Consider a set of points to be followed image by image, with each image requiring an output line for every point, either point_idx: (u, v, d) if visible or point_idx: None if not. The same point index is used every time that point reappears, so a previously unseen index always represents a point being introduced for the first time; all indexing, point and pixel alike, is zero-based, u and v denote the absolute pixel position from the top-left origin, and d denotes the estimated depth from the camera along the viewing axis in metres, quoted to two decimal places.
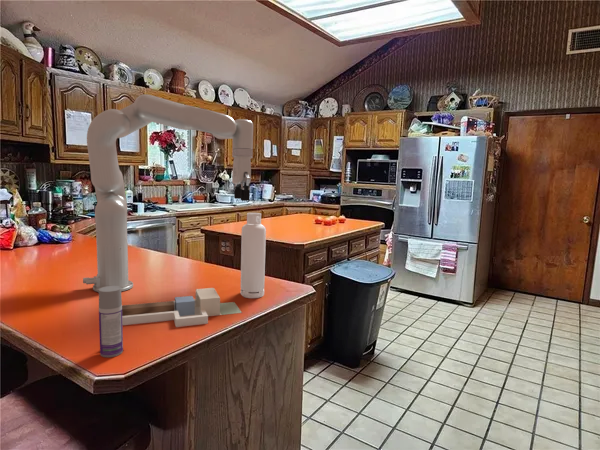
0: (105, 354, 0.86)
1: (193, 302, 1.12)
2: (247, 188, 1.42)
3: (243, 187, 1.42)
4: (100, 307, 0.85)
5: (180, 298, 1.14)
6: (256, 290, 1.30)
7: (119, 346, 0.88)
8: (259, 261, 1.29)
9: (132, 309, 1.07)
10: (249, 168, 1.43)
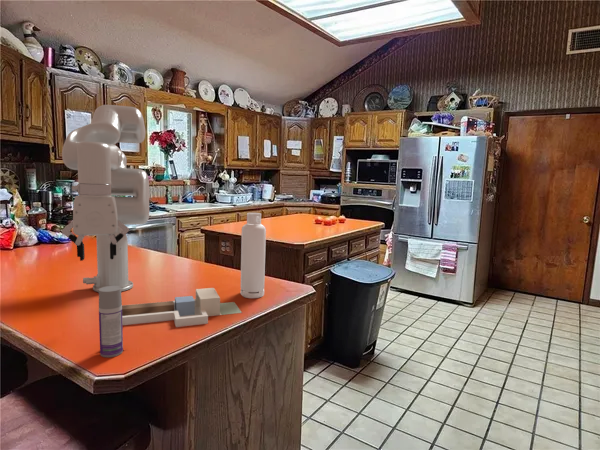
0: (105, 354, 0.86)
1: (193, 302, 1.12)
2: None
3: (116, 241, 1.03)
4: (100, 307, 0.85)
5: (180, 298, 1.14)
6: (256, 290, 1.30)
7: (119, 346, 0.88)
8: (259, 261, 1.29)
9: (132, 309, 1.07)
10: None
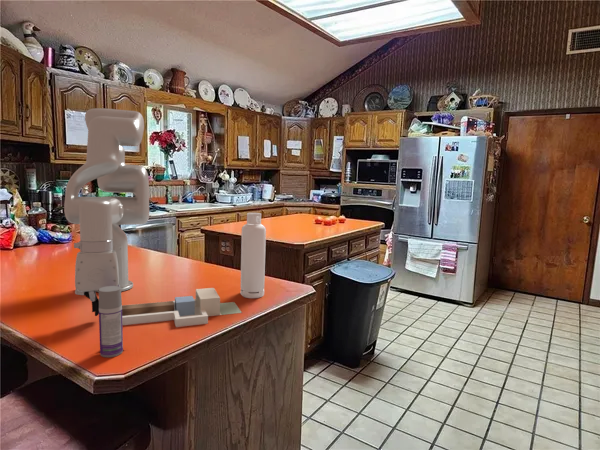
0: (105, 354, 0.86)
1: (193, 302, 1.12)
2: None
3: None
4: (100, 307, 0.85)
5: (180, 298, 1.14)
6: (256, 290, 1.30)
7: (119, 346, 0.88)
8: (259, 261, 1.29)
9: (132, 309, 1.07)
10: None
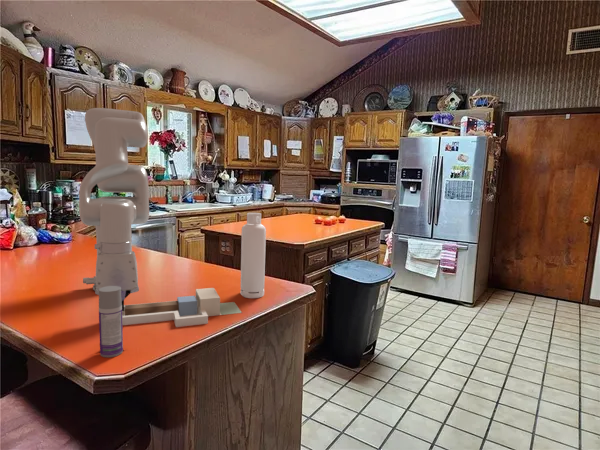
0: (105, 354, 0.86)
1: (195, 302, 1.12)
2: None
3: (124, 298, 1.06)
4: (100, 307, 0.85)
5: (183, 298, 1.14)
6: (256, 290, 1.30)
7: (119, 346, 0.88)
8: (259, 261, 1.29)
9: (137, 309, 1.07)
10: None
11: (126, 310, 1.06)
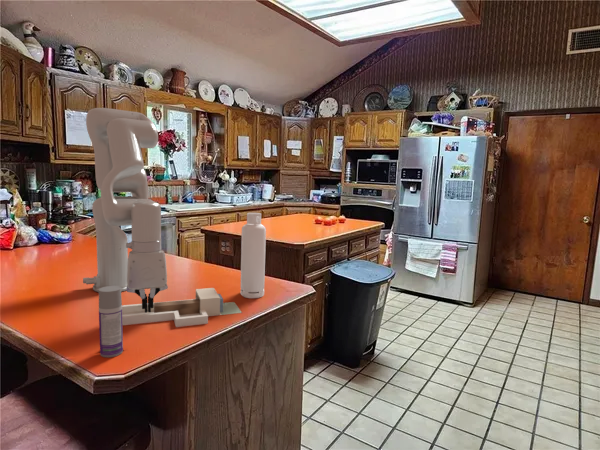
0: (105, 354, 0.86)
1: (222, 300, 1.15)
2: None
3: None
4: (100, 307, 0.85)
5: None
6: (256, 290, 1.30)
7: (119, 346, 0.88)
8: (259, 261, 1.29)
9: (166, 306, 1.10)
10: None
11: (155, 307, 1.09)
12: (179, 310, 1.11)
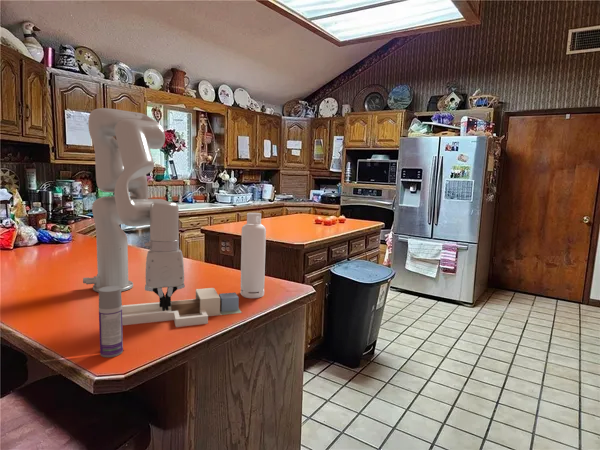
0: (105, 354, 0.86)
1: (237, 298, 1.17)
2: None
3: (171, 294, 1.10)
4: (100, 307, 0.85)
5: (224, 294, 1.19)
6: (256, 290, 1.30)
7: (119, 346, 0.88)
8: (259, 261, 1.29)
9: (183, 305, 1.12)
10: None
11: (173, 306, 1.11)
12: (196, 308, 1.13)
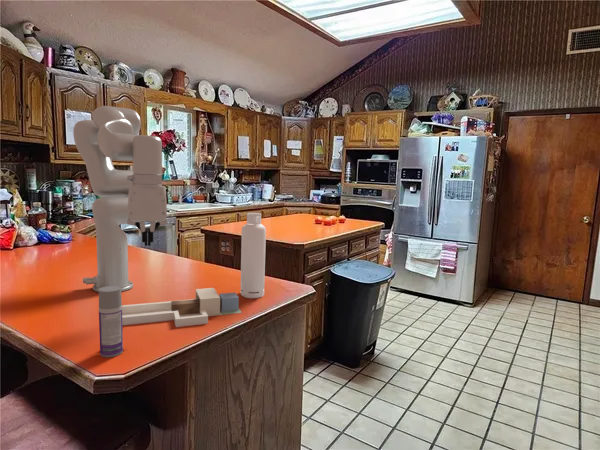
0: (105, 354, 0.86)
1: (237, 298, 1.17)
2: None
3: None
4: (100, 307, 0.85)
5: (224, 294, 1.19)
6: (256, 290, 1.30)
7: (119, 346, 0.88)
8: (259, 261, 1.29)
9: (183, 305, 1.12)
10: None
11: (173, 306, 1.11)
12: (196, 308, 1.13)
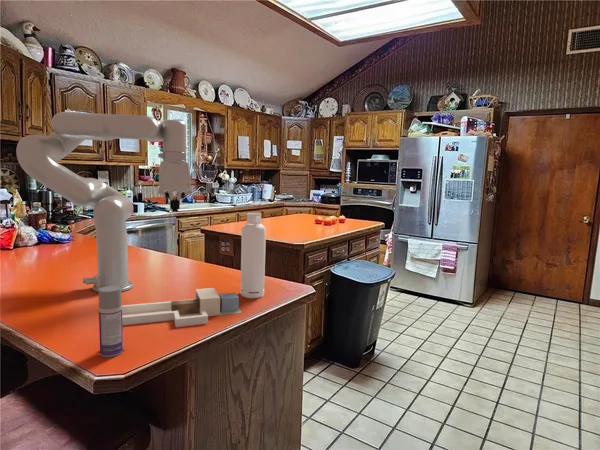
0: (105, 354, 0.86)
1: (237, 298, 1.17)
2: (179, 200, 1.35)
3: None
4: (100, 307, 0.85)
5: (224, 294, 1.19)
6: (256, 290, 1.30)
7: (119, 346, 0.88)
8: (259, 261, 1.29)
9: (183, 305, 1.12)
10: None
11: (173, 306, 1.11)
12: (196, 308, 1.13)
